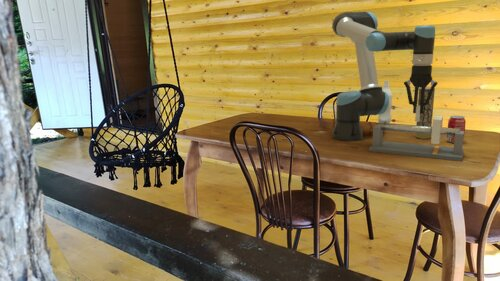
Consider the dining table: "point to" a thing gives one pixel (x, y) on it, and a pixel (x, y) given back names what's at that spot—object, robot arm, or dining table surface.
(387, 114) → the water bottle
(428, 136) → the wooden log
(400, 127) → the pipe
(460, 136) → the pipe stand
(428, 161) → the dining table surface
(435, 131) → the collar
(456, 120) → the soda can
